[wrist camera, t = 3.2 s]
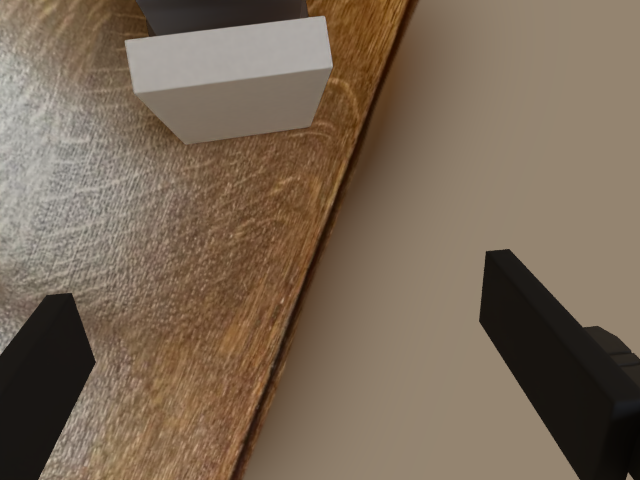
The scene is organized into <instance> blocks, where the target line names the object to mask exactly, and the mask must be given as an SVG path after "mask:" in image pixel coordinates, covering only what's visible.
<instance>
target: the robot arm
mask: <svg viewBox="0 0 640 480" xmlns="http://www.w3.org/2000/svg"><path fill="white" fill-rule="evenodd" d="M479 322H480V323H481V325H482V327H483V328H484V330H485V331H486V333H487V334H488V336H489V337H490V339H491V341H492V342H493V344H494V345H495V347H496V348H497V350H498V352H499V353H500V355H501V356H502V358H503V360H504V361H505V363H506V364H507V366H508V367H509V369H510V370H511V372H512V374H513V375H514V377H515V378H516V380H517V381H518V383H519V385H520V386H521V388H522V389H523V391H524V392H525V394H526V396H527V397H528V399H529V400H530V402H531V403H532V405H533V407H534V408H535V410H536V411H537V413H538V415H539V416H540V417H541V419H542V421H543V422H544V424H545V425H546V427H547V428H548V430H549V432H550V433H551V435H552V436H553V438H554V440H555V441H556V443H557V444H558V446H559V448H560V449H561V451H562V452H563V454H564V455H565V457H566V458H567V460H568V461H569V463H570V465H571V466H572V468H573V469H574V471H575V472H576V474H577V476H578V477H579V479H580V480H626V477H627V474H628V472H629V474H630V475H631V476H632V478H633V479H634V480H640V359H639V358H638V357H637V356H636V355H635V354H634V353H631V350H630V349H629V348H628V347H627V346H626V345H625V344H624V343H623V342H622V341H621V340H620V339H619V338H618V337H617V336H615V335H613V334H611V333H609V332H608V331H606V330H604V329H602V328H601V327H599V326H593V327H584V328H583V327H582V326H581V325H580V324H579V323H578V322H577V321H576V320H575V319H574V318H573V316H572V315H571V314H570V313H569V312H568V311H567V310H566V309H565V308H564V307H563V306H562V305H561V304H560V303H559V302H558V301H557V299H556V298H555V297H553V295H552V294H551V293H550V292H549V291H548V290H547V289H546V288H545V287H544V286H543V285H542V283H541V282H539V280H538V279H537V278H536V277H535V276H534V275H533V274H532V273H531V272H530V271H529V270H528V269H527V268H526V266H525V265H524V264H523V263H522V262H521V261H520V260H519V259H518V258H517V257H516V256H515V255H514V254H513V253H512V252H511V251H510V249H505V250H495V251H486V256H485V267H484V277H483V287H482V298H481V308H480V318H479ZM95 363H96V361H95V359H94V356H93V353H92V350H91V347H90V344H89V341H88V338H87V336H86V333H85V330H84V327H83V324H82V321H81V318H80V315H79V313H78V310H77V307H76V304H75V301H74V298H73V295H72V293H65V294H55V295H46V297H45V298H44V299H43V300H42V302H41V303H40V304H39V306H38V307H37V308H36V310H35V311H34V312H33V313H32V315H31V316H30V317H29V319H28V320H27V321H26V323H25V324H24V325H23V326H22V328H21V329H20V330H19V332H18V333H17V334H16V336H15V337H14V338H13V339H12V341H11V342H10V343H9V345H8V346H7V347H6V349H5V350H4V351H3V353H2V354H1V355H0V480H38V479H39V477H40V475H41V473H42V471H43V469H44V467H45V465H46V463H47V461H48V459H49V457H50V454H51V452H52V450H53V448H54V446H55V444H56V442H57V440H58V438H59V436H60V434H61V432H62V430H63V428H64V426H65V424H66V422H67V420H68V418H69V416H70V414H71V412H72V410H73V408H74V406H75V404H76V401H77V399H78V397H79V395H80V393H81V391H82V389H83V387H84V385H85V383H86V381H87V379H88V377H89V375H90V373H91V371H92V369H93V367H94V365H95Z"/></svg>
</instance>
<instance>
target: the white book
mask: <svg viewBox="0 0 640 480" xmlns="http://www.w3.org/2000/svg"><path fill="white" fill-rule="evenodd" d="M125 47H126V53H127V58H128V64H129V70H130V75H131V81H132V87H133V92H134V94H135V95H136V96H137V97H138V98H139V99H140V100H141V101H142V102H143V103H144V104H145V105H146V106H147V107H148V108H149V109H150V110H151V111H152V112H153V113H154V114H155V115H156V116H157V117H158V118H159V119H160V120H161V121H162V122H163V123H164V124H165V125H166V126H167V127H168V128H169V129H170V130H171V131H172V132H173V133H174V134H175V135H176V136H177V137H178V138H179V139H180V140H181V141H182V142H183V143H184V144H185V145H188V144H195V143H202V142H209V141H216V140H223V139H230V138H237V137H244V136H251V135H258V134H265V133H272V132H278V131H285V130H292V129H299V128H306V127H310V126H311V123H312V121H313V118H314V115H315V113H316V110H317V107H318V105H319V102H320V99H321V97H322V94H323V91H324V89H325V86H326V84H327V81H328V78H329V76H330V73H331V70H332V68H333V63H332V57H331V51H330V44H329V38H328V32H327V26H326V19H325V16H318V17H310V18H301V19H293V20H285V21H277V22H269V23H261V24H252V25H244V26H236V27H228V28H220V29H211V30H203V31H195V32H187V33H179V34H171V35H162V36H154V37H146V38H138V39H130V40H125Z"/></svg>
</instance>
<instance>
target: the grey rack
mask: <svg viewBox="0 0 640 480" xmlns="http://www.w3.org/2000/svg"><path fill="white" fill-rule="evenodd" d="M136 2H137V3H138V5H139V7H140V9H141V10H142V12H143V14H144V15H145V17H146V22H147V27H148V33H149V37H154V36H162V35H171V34H179V33H187V32H195V31H203V30H211V29H220V28H228V27H236V26H244V25H252V24H261V23H269V22H277V21H285V20H293V19H301V18H309V17H308V11H307V4H306V0H136Z"/></svg>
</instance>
